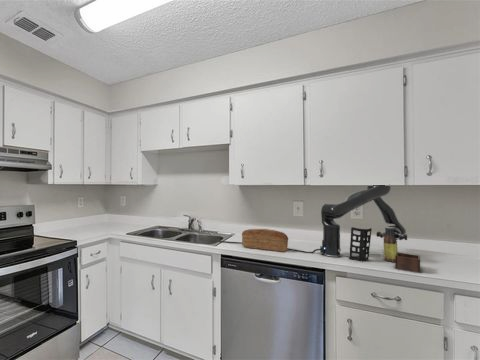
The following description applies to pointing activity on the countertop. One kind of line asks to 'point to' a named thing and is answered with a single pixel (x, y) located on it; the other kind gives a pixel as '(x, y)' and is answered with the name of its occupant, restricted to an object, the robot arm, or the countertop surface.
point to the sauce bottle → (390, 245)
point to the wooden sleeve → (407, 262)
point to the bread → (265, 239)
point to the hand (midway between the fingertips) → (390, 237)
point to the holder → (362, 242)
